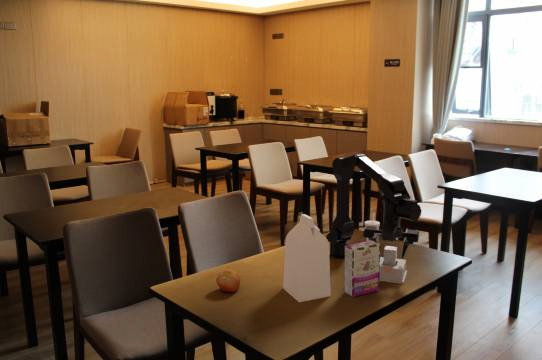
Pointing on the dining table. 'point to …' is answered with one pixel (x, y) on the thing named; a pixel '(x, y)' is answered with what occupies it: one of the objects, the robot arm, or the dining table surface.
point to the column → (390, 255)
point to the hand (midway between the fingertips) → (390, 257)
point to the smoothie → (372, 224)
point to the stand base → (393, 271)
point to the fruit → (228, 280)
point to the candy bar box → (362, 268)
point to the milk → (306, 262)
